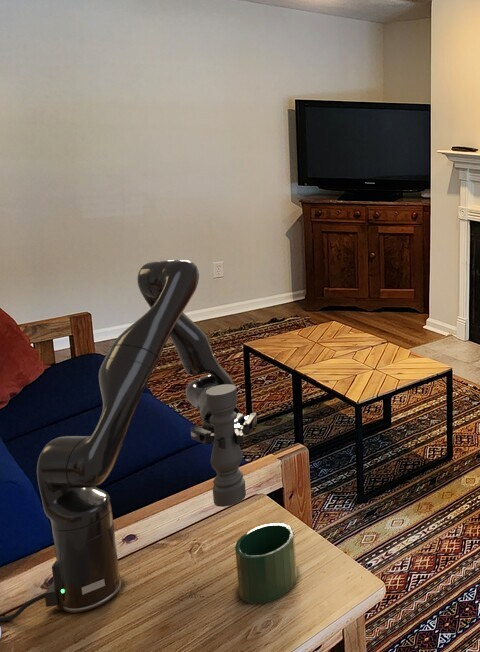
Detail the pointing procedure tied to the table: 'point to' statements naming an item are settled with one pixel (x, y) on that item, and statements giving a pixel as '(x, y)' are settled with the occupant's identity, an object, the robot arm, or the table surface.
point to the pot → (266, 563)
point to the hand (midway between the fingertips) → (231, 442)
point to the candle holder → (225, 460)
